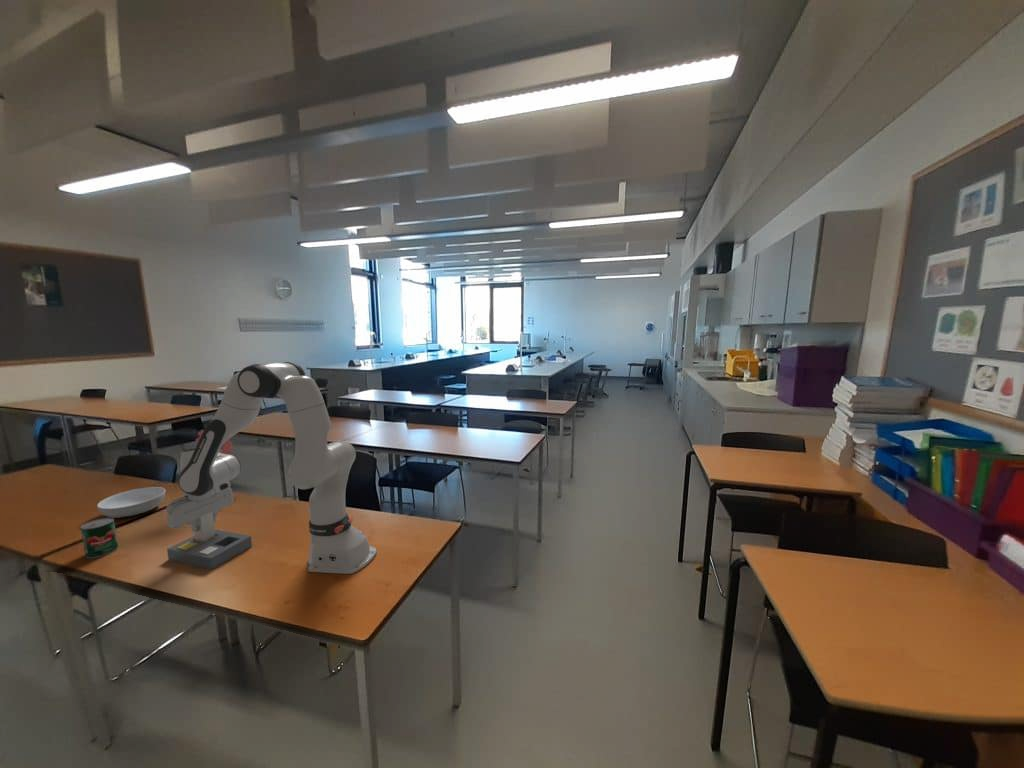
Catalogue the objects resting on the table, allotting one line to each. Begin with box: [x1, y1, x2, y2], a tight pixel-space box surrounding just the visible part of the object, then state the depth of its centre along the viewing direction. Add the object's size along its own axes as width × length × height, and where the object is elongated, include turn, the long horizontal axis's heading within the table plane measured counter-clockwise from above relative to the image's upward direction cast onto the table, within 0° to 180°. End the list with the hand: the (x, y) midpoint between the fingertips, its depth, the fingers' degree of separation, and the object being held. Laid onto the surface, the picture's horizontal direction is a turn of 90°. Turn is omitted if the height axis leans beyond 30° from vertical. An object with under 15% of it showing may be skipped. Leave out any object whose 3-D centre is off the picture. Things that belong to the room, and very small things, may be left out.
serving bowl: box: [96, 486, 167, 518], centre depth 161 cm, size 21×21×7 cm
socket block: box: [166, 528, 253, 571], centre depth 131 cm, size 20×14×4 cm
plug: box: [193, 511, 215, 542], centre depth 134 cm, size 4×4×10 cm
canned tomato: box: [80, 517, 119, 559], centre depth 131 cm, size 8×8×11 cm
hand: (204, 527), depth 134 cm, fingers closed on plug, 4 cm apart
